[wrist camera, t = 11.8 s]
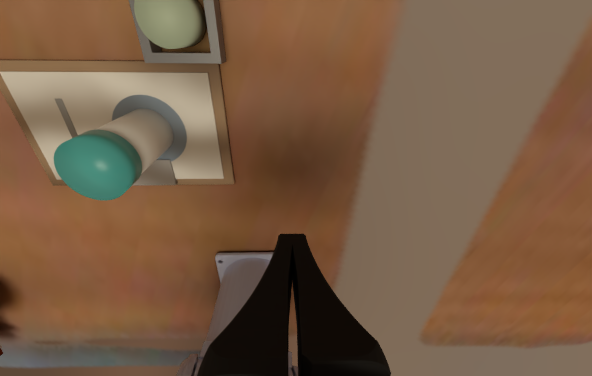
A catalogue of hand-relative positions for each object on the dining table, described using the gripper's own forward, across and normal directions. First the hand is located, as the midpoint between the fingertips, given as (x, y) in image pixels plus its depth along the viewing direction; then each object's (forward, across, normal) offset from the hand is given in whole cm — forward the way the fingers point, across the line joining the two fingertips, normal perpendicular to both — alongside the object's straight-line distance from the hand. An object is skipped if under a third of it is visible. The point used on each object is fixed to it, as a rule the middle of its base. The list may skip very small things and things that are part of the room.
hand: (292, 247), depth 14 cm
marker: (+10, +11, -3) cm, 15 cm away
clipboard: (+10, +13, -3) cm, 17 cm away
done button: (+10, +7, -11) cm, 16 cm away
